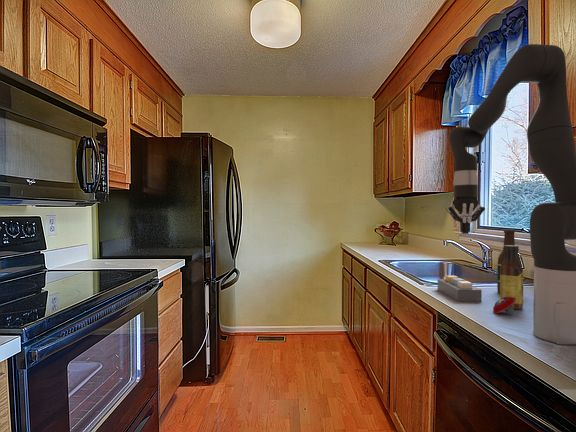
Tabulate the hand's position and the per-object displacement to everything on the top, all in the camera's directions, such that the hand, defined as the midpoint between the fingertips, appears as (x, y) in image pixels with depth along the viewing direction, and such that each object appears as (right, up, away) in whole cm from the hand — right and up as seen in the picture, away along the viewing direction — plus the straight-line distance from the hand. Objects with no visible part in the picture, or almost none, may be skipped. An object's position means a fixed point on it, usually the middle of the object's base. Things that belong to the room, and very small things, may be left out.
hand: (465, 233), depth 118 cm
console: (0, -23, +5) cm, 24 cm away
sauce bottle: (+10, -23, -10) cm, 27 cm away
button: (+3, -24, -17) cm, 29 cm away
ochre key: (0, -21, +10) cm, 23 cm away
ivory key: (0, -21, 0) cm, 21 cm away
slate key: (0, -21, +5) cm, 21 cm away
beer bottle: (+20, -23, +8) cm, 32 cm away
